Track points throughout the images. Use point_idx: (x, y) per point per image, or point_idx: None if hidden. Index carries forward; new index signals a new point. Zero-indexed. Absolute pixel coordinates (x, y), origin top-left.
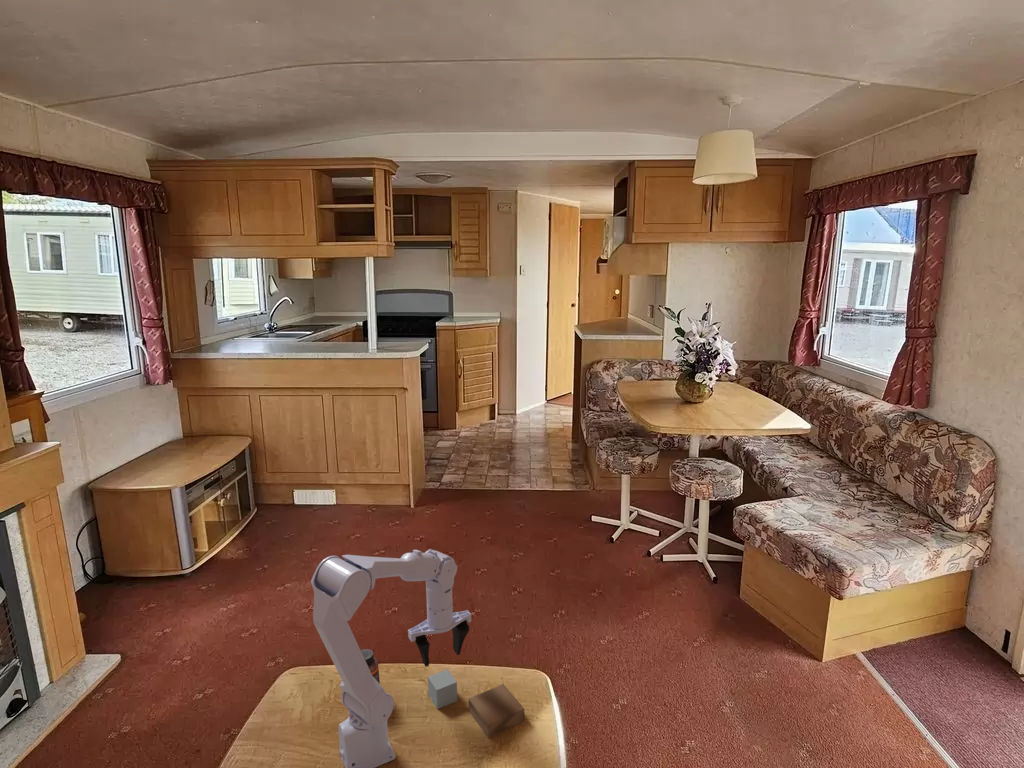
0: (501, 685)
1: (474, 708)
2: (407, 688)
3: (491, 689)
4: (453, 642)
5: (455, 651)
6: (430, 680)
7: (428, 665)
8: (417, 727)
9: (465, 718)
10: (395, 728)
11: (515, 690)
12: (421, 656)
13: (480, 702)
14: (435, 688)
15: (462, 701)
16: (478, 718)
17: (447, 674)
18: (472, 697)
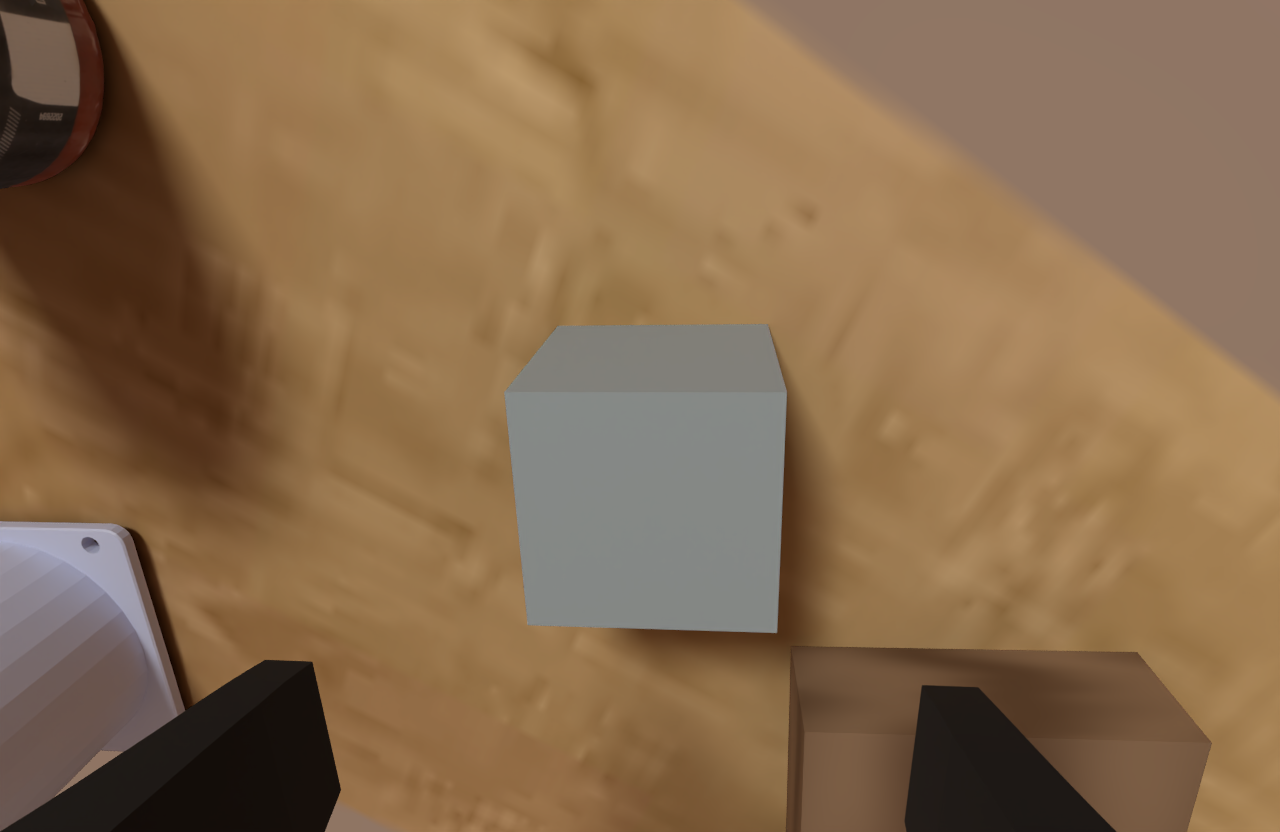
0: (1178, 752)
1: (799, 806)
2: (391, 123)
3: (1059, 744)
4: (992, 824)
5: (920, 778)
6: (513, 467)
7: (331, 798)
8: (377, 593)
9: (731, 691)
10: (222, 524)
11: (1270, 655)
12: (173, 721)
13: (873, 809)
14: (526, 601)
15: (797, 540)
16: (792, 821)
17: (740, 472)
18: (843, 740)
